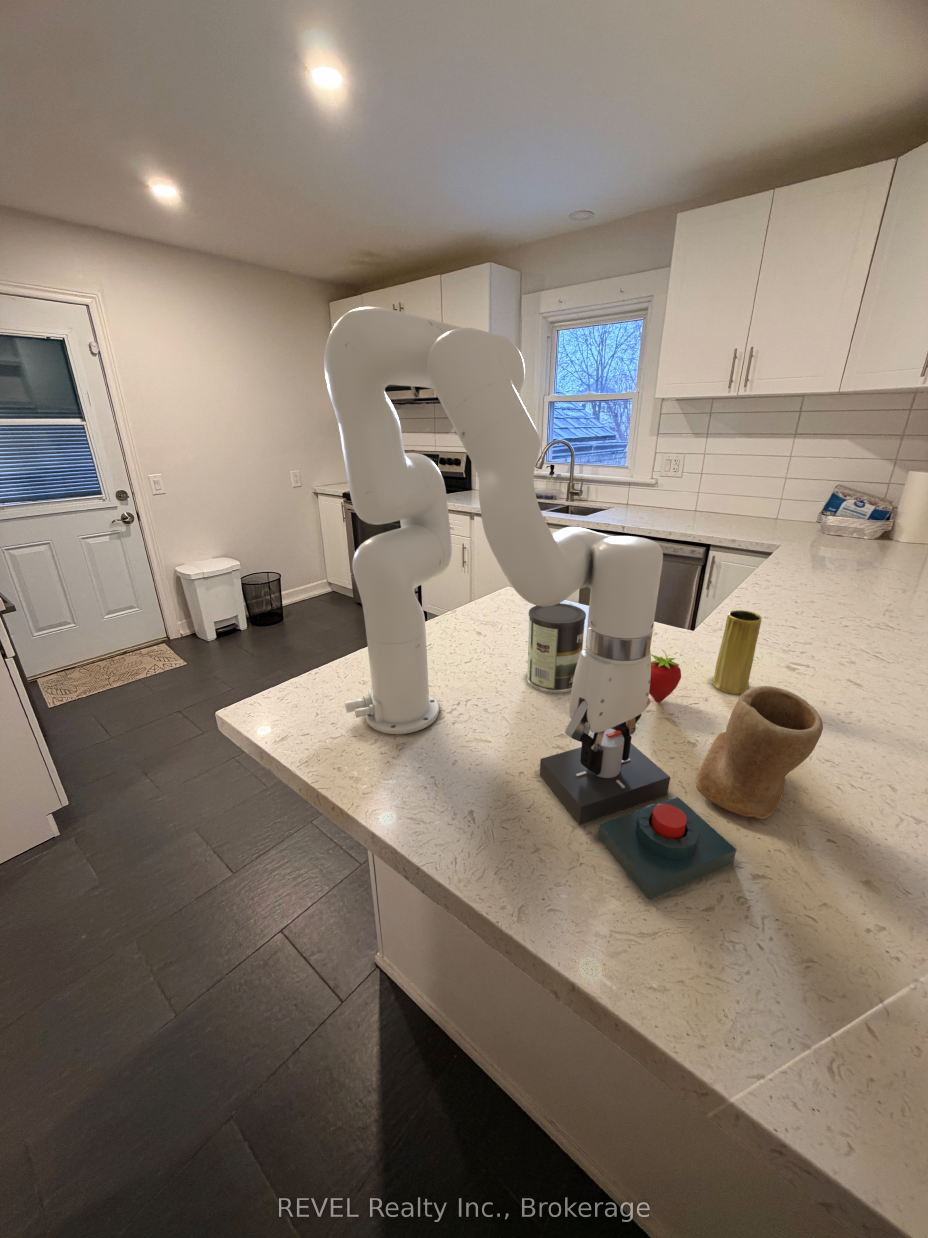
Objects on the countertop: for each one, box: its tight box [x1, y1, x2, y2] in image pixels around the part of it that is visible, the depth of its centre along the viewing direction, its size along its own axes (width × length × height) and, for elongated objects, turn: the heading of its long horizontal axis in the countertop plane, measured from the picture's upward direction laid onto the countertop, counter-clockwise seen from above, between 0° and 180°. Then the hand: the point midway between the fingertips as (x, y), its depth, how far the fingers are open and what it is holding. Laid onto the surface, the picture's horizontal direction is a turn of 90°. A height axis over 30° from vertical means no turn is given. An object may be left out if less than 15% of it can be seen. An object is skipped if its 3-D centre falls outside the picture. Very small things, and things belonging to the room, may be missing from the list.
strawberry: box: [649, 650, 682, 703], centre depth 86 cm, size 6×8×10 cm
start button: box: [651, 804, 687, 839], centre depth 56 cm, size 4×4×2 cm
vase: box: [711, 609, 763, 695], centre depth 90 cm, size 6×6×14 cm
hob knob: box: [589, 728, 624, 778], centre depth 66 cm, size 4×4×5 cm
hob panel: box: [539, 743, 671, 826], centre depth 68 cm, size 14×10×3 cm
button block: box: [597, 796, 737, 900], centre depth 57 cm, size 12×9×4 cm
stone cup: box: [695, 685, 824, 820], centre depth 65 cm, size 15×12×15 cm
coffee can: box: [526, 602, 587, 694], centre depth 93 cm, size 10×10×14 cm
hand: (604, 760), depth 67 cm, fingers closed on hob knob, 4 cm apart
